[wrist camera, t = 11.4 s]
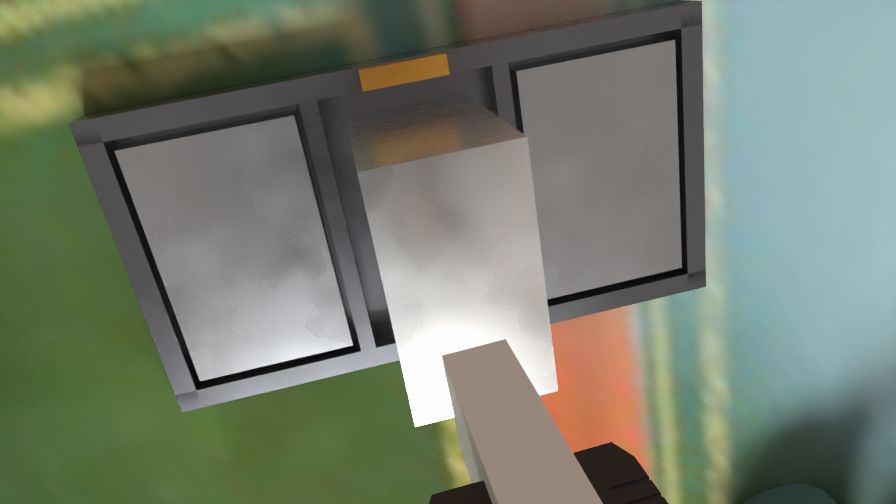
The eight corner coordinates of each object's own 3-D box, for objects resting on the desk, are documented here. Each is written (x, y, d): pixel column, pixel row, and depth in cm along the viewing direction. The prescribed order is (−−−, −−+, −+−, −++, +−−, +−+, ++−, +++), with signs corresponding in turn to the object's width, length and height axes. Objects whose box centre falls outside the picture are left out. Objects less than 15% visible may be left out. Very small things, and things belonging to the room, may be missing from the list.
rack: (188, 391, 27) (179, 419, 25) (83, 115, 23) (62, 126, 21) (687, 272, 29) (712, 291, 28) (680, 0, 25) (709, 1, 23)
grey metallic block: (389, 309, 27) (415, 426, 20) (346, 118, 24) (357, 172, 17) (495, 285, 28) (558, 390, 20) (465, 93, 24) (527, 137, 17)
